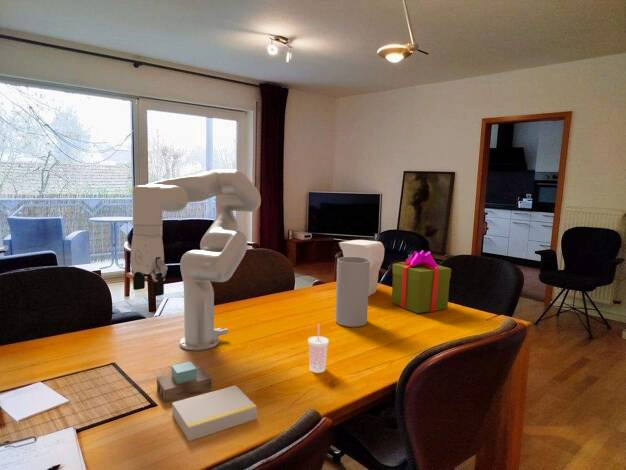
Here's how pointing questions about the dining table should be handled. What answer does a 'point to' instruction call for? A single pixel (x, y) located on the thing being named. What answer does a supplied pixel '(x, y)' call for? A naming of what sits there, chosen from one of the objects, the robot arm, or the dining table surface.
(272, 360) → the dining table surface
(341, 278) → the cylinder vase
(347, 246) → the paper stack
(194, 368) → the teal block
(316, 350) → the beverage cup
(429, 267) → the gift box
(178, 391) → the pallet
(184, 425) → the block
